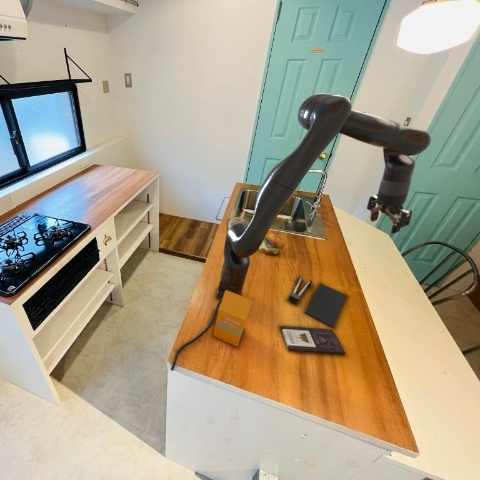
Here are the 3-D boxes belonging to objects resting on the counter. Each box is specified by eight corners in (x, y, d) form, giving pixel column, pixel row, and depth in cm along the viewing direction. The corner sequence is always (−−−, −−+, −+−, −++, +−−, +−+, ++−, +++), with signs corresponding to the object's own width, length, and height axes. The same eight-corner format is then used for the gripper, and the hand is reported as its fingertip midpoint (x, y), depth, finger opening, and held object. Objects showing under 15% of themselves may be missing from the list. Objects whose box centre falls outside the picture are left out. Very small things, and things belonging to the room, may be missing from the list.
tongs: (298, 306, 101) (300, 300, 99) (285, 299, 104) (288, 294, 102) (310, 284, 111) (313, 279, 109) (298, 279, 114) (301, 274, 112)
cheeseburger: (255, 243, 135) (264, 228, 129) (273, 247, 136) (283, 233, 131) (260, 255, 127) (270, 239, 121) (280, 259, 128) (290, 244, 122)
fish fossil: (248, 243, 135) (248, 241, 135) (228, 241, 137) (228, 240, 137) (245, 218, 156) (245, 216, 155) (227, 217, 158) (228, 215, 157)
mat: (333, 328, 93) (333, 327, 93) (304, 313, 98) (305, 312, 98) (346, 296, 106) (346, 295, 105) (320, 284, 111) (320, 283, 111)
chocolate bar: (345, 352, 84) (289, 348, 85) (344, 354, 84) (289, 350, 85) (332, 329, 91) (281, 325, 92) (331, 331, 92) (280, 327, 93)
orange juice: (237, 347, 86) (250, 308, 75) (212, 335, 90) (221, 297, 78) (243, 329, 92) (255, 291, 80) (219, 319, 95) (228, 281, 84)
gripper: (365, 184, 91) (358, 220, 100) (403, 202, 79) (391, 240, 89) (385, 177, 90) (376, 213, 100) (426, 193, 79) (412, 232, 88)
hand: (383, 226), depth 94 cm, fingers open, 8 cm apart
